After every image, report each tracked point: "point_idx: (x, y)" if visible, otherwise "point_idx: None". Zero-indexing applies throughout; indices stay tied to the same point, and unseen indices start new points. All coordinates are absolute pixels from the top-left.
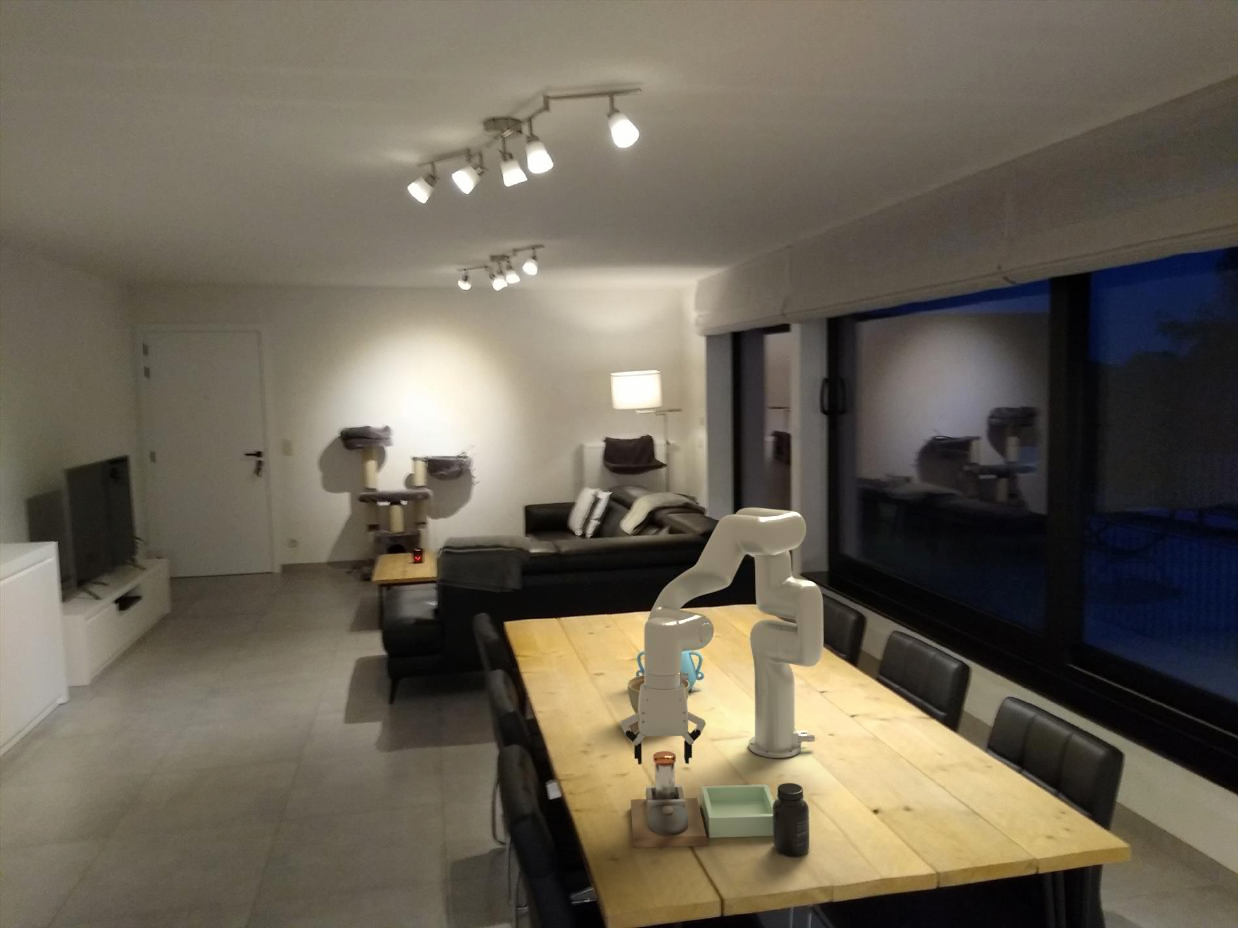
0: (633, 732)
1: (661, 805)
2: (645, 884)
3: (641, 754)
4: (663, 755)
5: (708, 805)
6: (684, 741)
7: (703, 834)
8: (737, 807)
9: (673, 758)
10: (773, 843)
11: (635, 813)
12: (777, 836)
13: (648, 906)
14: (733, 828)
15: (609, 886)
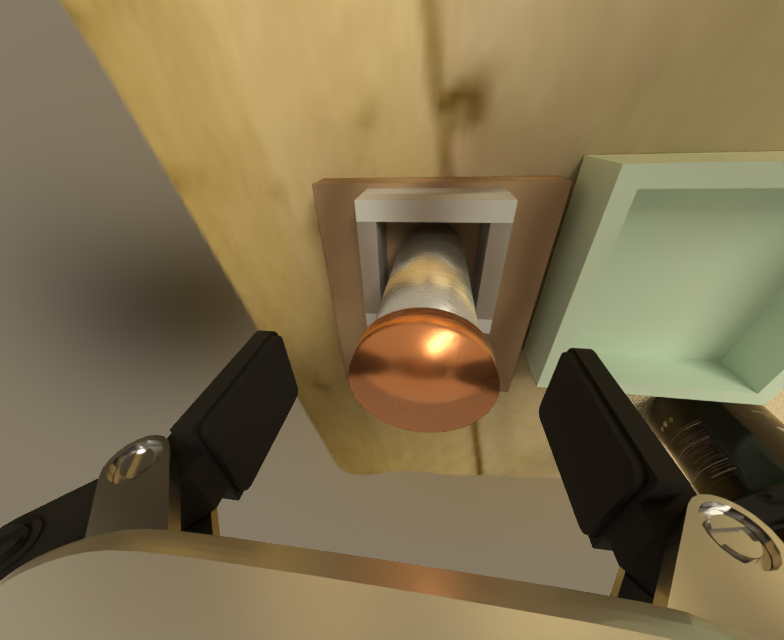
0: (72, 540)
1: None
2: (376, 440)
3: (274, 437)
4: (414, 383)
5: (567, 327)
6: (621, 494)
7: (503, 387)
8: (701, 234)
9: (471, 422)
10: (657, 409)
11: (339, 281)
12: (669, 449)
13: (381, 469)
14: None
15: (326, 436)
